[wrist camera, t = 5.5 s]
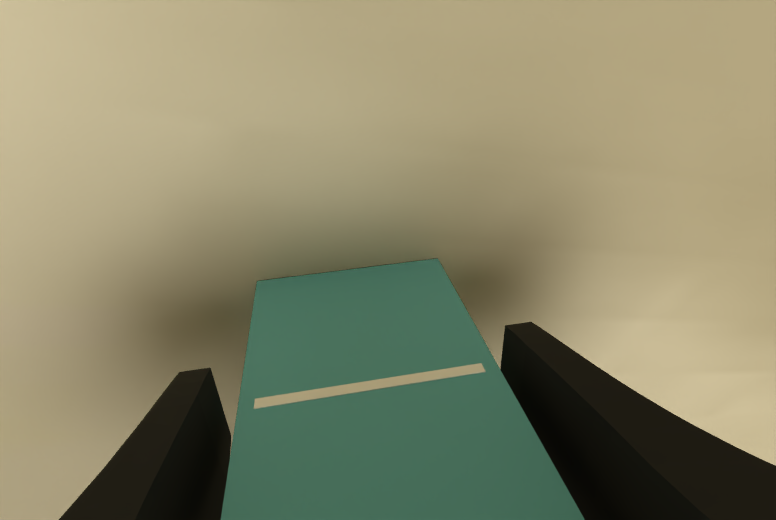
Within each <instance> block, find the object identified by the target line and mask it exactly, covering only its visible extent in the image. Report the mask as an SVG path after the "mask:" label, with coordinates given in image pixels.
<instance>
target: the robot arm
mask: <svg viewBox="0 0 776 520" xmlns="http://www.w3.org/2000/svg"><path fill="white" fill-rule="evenodd" d="M501 372H502V374H503V375H504V377H505V379H506V381H507V383H508V384H509V386H510V388H511V390H512V391H513V393H514V395H515V397H516V399H517V400H518V402H519V404H520V406H521V407H522V409H523V411H524V413H525V414H526V416H527V418H528V420H529V422H530V423H531V425H532V427H533V429H534V430H535V432H536V434H537V436H538V438H539V439H540V441H541V443H542V445H543V446H544V448H545V450H546V452H547V454H548V455H549V457H550V459H551V461H552V462H553V464H554V466H555V468H556V470H557V471H558V473H559V475H560V477H561V478H562V480H563V482H564V484H565V486H566V487H567V489H568V491H569V493H570V494H571V496H572V498H573V500H574V502H575V503H576V505H577V507H578V509H579V510H580V512H581V514H582V516H583V517H584V519H585V520H776V466H775V465H773V464H770V463H768V462H766V461H764V460H762V459H759V458H757V457H755V456H753V455H751V454H749V453H747V452H745V451H743V450H741V449H739V448H737V447H735V446H733V445H731V444H729V443H727V442H725V441H723V440H721V439H719V438H717V437H715V436H713V435H711V434H710V433H708V432H706V431H704V430H702V429H700V428H698V427H696V426H694V425H692V424H690V423H689V422H687V421H685V420H683V419H681V418H680V417H678V416H676V415H674V414H673V413H671V412H669V411H667V410H666V409H664V408H662V407H661V406H659V405H657V404H656V403H654V402H652V401H651V400H649V399H647V398H646V397H644V396H642V395H641V394H639V393H637V392H636V391H634V390H632V389H631V388H629V387H628V386H626V385H625V384H623V383H621V382H620V381H618V380H617V379H615V378H614V377H612V376H611V375H609V374H608V373H606V372H604V371H603V370H601V369H600V368H598V367H597V366H595V365H594V364H592V363H591V362H590V361H588V360H587V359H585V358H584V357H582V356H581V355H579V354H578V353H576V352H575V351H573V350H572V349H571V348H569V347H568V346H566V345H565V344H563V343H562V342H560V341H559V340H557V339H556V338H555V337H553V336H552V335H550V334H549V333H547V332H546V331H544V330H543V329H541V328H540V327H538V326H537V325H535V324H534V323H532V322H527V323H520V324H513V325H506V326H505V332H504V341H503V351H502V360H501ZM230 447H231V434H230V431H229V427H228V424H227V421H226V418H225V414H224V411H223V408H222V404H221V401H220V398H219V394H218V391H217V388H216V385H215V381H214V378H213V375H212V371H211V368H205V369H198V370H191V371H184V372H179V373H178V375H177V376H176V377H175V378H174V380H173V381H172V382H171V383H170V385H169V386H168V387H167V388H166V390H165V391H164V392H163V394H162V395H161V396H160V398H159V399H158V400H157V402H156V403H155V404H154V405H153V407H152V408H151V409H150V411H149V412H148V413H147V415H146V416H145V417H144V418H143V420H142V421H141V422H140V424H139V425H138V426H137V428H136V429H135V430H134V431H133V433H132V434H131V435H130V436H129V438H128V439H127V440H126V441H125V443H124V444H123V445H122V446H121V447H120V449H119V450H118V451H117V452H116V454H115V455H114V456H113V457H112V459H111V460H110V461H109V462H108V464H107V465H106V466H105V467H104V468H103V470H102V471H101V472H100V473H99V474H98V476H97V477H96V478H95V479H94V480H93V481H92V482H91V484H90V485H89V486H88V487H87V488H86V489H85V490H84V492H83V493H82V494H81V495H80V496H79V497H78V498H77V500H76V501H75V502H74V503H73V504H72V505H71V506H70V508H69V509H68V510H67V511H66V512H65V513H64V514H63V516H62V517H61V518H60V519H59V520H221V514H222V507H223V501H224V494H225V488H226V481H227V474H228V468H229V461H230Z"/></svg>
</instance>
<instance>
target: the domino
mask: <svg viewBox="0 0 776 520" xmlns="http://www.w3.org/2000/svg"><path fill="white" fill-rule="evenodd" d="M221 520H585V519H584V517H583V516H582V514H581V512H580V510H579V509H578V507H577V505H576V503H575V502H574V500H573V498H572V496H571V494H570V493H569V491H568V489H567V487H566V486H565V484H564V482H563V480H562V478H561V477H560V475H559V473H558V471H557V470H556V468H555V466H554V464H553V462H552V461H551V459H550V457H549V455H548V454H547V452H546V450H545V448H544V446H543V445H542V443H541V441H540V439H539V438H538V436H537V434H536V432H535V430H534V429H533V427H532V425H531V423H530V422H529V420H528V418H527V416H526V414H525V413H524V411H523V409H522V407H521V406H520V404H519V402H518V400H517V399H516V397H515V395H514V393H513V391H512V390H511V388H510V386H509V384H508V383H507V381H506V379H505V377H504V375H503V374H502V372H501V370H500V368H499V367H498V365H497V363H496V361H495V359H494V358H493V356H492V354H491V352H490V351H489V349H488V347H487V345H486V343H485V342H484V340H483V338H482V336H481V335H480V333H479V331H478V329H477V327H476V326H475V324H474V322H473V320H472V319H471V317H470V315H469V313H468V311H467V310H466V308H465V306H464V304H463V303H462V301H461V299H460V297H459V296H458V294H457V292H456V290H455V288H454V287H453V285H452V283H451V281H450V280H449V278H448V276H447V274H446V272H445V271H444V269H443V267H442V265H441V264H440V262H439V260H438V258H437V259H429V260H421V261H413V262H405V263H397V264H389V265H381V266H373V267H365V268H357V269H349V270H341V271H333V272H326V273H318V274H310V275H302V276H294V277H286V278H278V279H270V280H262V281H257V285H256V291H255V298H254V304H253V311H252V317H251V324H250V330H249V337H248V344H247V350H246V357H245V363H244V370H243V376H242V383H241V389H240V396H239V402H238V409H237V416H236V422H235V429H234V435H233V442H232V448H231V455H230V461H229V468H228V474H227V481H226V488H225V494H224V501H223V507H222V514H221Z"/></svg>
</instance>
